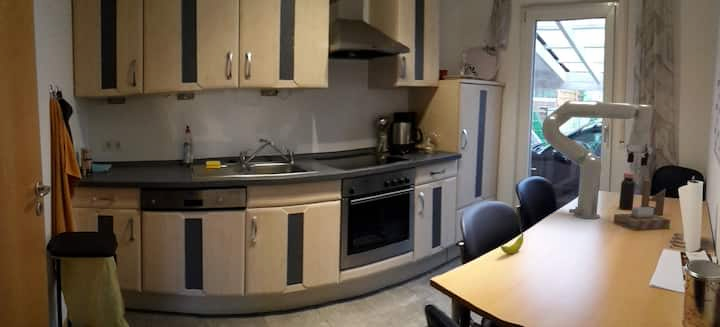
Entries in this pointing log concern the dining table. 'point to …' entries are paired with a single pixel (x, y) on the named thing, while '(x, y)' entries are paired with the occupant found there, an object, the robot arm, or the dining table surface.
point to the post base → (641, 222)
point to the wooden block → (653, 198)
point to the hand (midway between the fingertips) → (636, 163)
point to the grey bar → (642, 212)
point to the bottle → (627, 192)
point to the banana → (513, 246)
